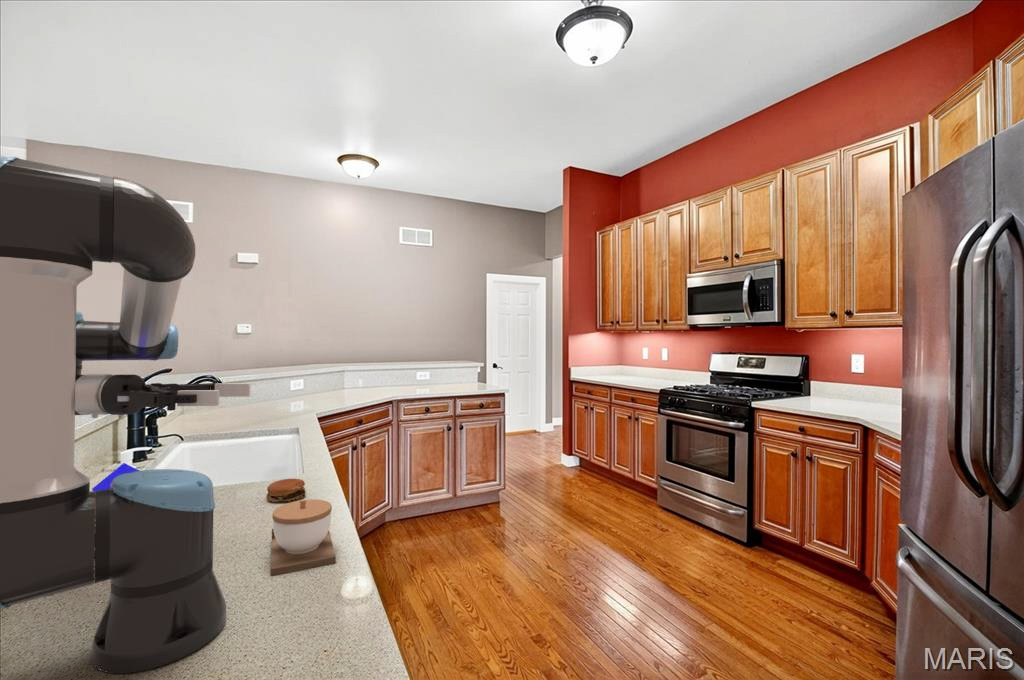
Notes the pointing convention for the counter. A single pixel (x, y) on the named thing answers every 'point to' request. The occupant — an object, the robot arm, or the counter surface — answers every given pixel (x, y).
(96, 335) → the robot arm
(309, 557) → the walnut board
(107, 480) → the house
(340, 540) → the counter surface
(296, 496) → the burger
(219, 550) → the counter surface
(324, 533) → the lidded jar
